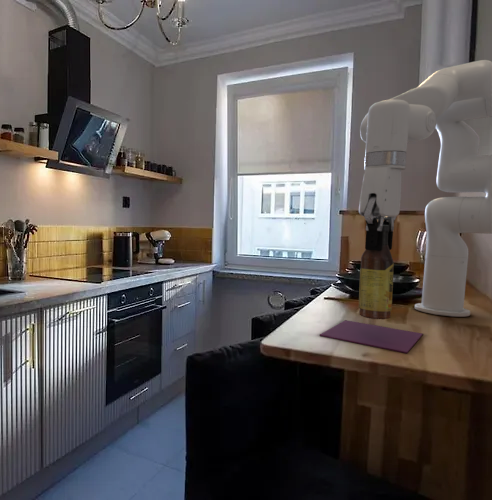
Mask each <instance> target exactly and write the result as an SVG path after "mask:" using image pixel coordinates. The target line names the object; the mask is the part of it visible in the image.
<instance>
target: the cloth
mask: <svg viewBox="0 0 492 500" xmlns="http://www.w3.org/2000/svg"><path fill="white" fill-rule="evenodd" d="M319 336H320V337H324V338H327V339H328V338H329V339H334V340H338V341H342V342H343V341H344V342H349V343H353V344H357V345H362V346H368V347H374V348H378V349H383V350H387V351H393V352H397V353H402V354H409V352H410V351H411V349H412V348H413V347H415V345H416V344H417V343H418V341H419V340H420V339H421V338H422V337H423V336H424V333H422V332H416V331H410V330H405V329H400V328H399V329H398V328H393V327H388V326H383V325H382V326H381V325H375V324H371V323H363V322H358V321H353V320H348V319H345V320H343V321H341V322H339V323H337V324H335V325H334V326H332V327H330V328H329V329H327V330H325V331H323V332H322V333H319Z"/></svg>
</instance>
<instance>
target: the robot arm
mask: <svg viewBox="0 0 492 500" xmlns="http://www.w3.org/2000/svg"><path fill="white" fill-rule="evenodd" d="M486 118H492V61H491V60H488V59H481V60H475V61H470V62H467V63H461V64H456V65H452V66H448V67H443V68H441V69H439V70H436V71H434V72H433V73H431V74H430V75H429V76H428V77H427V78H426V79H425V80H423V81H422V82H421V83H420V84H418V85H417V87H414V88H411V89H409V90H407V91H405V92H403V93H401V94H398V95H396V96H394V97H391V98H389V99H386V100H380V101H377V102H374V103H373V104H372V105H370V106H369V108H368V112H366V114H365V116H364V117H363V118H362V121H361V123H360V127H359V135H360V138H361V140H362V142H364V144H365V153H364V168H363V171H364V173H363V178H362V183H361V189H360V197H359V206H358V213H359V215H360V216H361V217H364V219H365V223H366V224H365V241H364V242H365V243H364V244H365V245H364V250H375V251H381V250H382V248H383V234H384V232H383V231H382V226H383V225H389V232H388V246H389V249H390V251H391V250H392V249H393V238H394V230H395V221H396V219H397V216H399V214H400V211H401V203H402V202H401V201H402V171H404V170H406V167H407V152H408V143H413V142H420V141H423V140H426V139H428V138H429V137H430V136H432V134H433V133H434V131H435V130H436V131H437V134H438V137H439V141H440V147H439V148H440V149H439V154H438V155H439V157H438V163H437V171H436V187H437V189H439V191H441V192H444V193H484V194H485V196H443V197H437V198H434V199H432V200H430V201H429V202H428V203H427V204H426V206H425V209H424V223H425V230H426V231H425V232H426V239H425V240H426V242H425V256H424V266H423V267H424V269H423V278H422V279H423V280H422V290H421V291H422V292H421V302H418V303H415V304H414V309H415V310H416V311H418V312H421V313H426V314H431V315H435V316H436V315H437V316H445V317H454V318H456V317H457V318H459V317H460V318H463V317H464V318H465V317H469V316H471V310H469V309H467V308H464V307H465V297H466V284H467V275H468V263H469V247H468V245H467V243H466V241H465V240H464V239H463V237H461V235H460V234H486V235H488V234H489V235H490V234H492V154H482V155H481V154H480V155H479V151H480V143H481V138H480V135H479V134H478V133H477V132H476V131H475V129H474V128H472V126H470V125H469V124H468V123H466V122H465V121H470V120H471V121H472V120H480V119H486Z"/></svg>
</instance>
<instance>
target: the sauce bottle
mask: <svg viewBox="0 0 492 500" xmlns="http://www.w3.org/2000/svg"><path fill="white" fill-rule="evenodd" d="M382 231H383V232H384V234H383V248H382V250H381V251H375V250H366V249H364V251H363V252H362V254H361V257H360V268H359V287H358V290H359V293H358V309H359V311H358V314H359V315H360V316H361V317H363V318H366V319H371V320H381V321H382V320H387V319H390V318H391V311H392V310H393V290H394V289H393V288H394V267H395V266H394V265H395V263H394V260H393V257H392V253H391V250H390V249H389V246H388V232H389V225H383V226H382Z"/></svg>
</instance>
